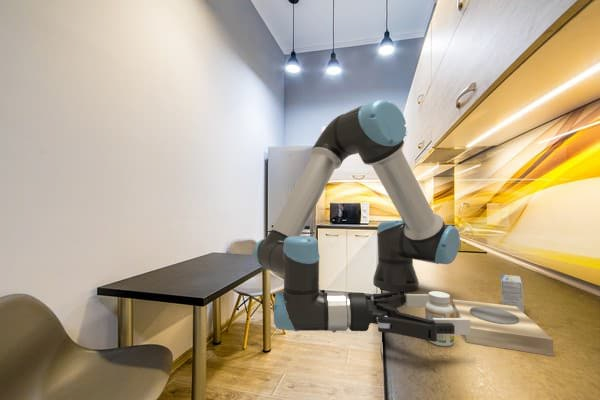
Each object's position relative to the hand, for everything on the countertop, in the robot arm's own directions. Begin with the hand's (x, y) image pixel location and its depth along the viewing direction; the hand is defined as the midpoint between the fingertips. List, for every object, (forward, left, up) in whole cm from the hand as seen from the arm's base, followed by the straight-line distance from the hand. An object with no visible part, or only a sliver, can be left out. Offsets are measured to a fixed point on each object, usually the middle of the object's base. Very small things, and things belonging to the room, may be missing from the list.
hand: (449, 311), depth 56 cm
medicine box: (-24, +18, -6) cm, 31 cm away
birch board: (-9, +10, -6) cm, 15 cm away
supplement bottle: (+1, -2, -6) cm, 6 cm away
